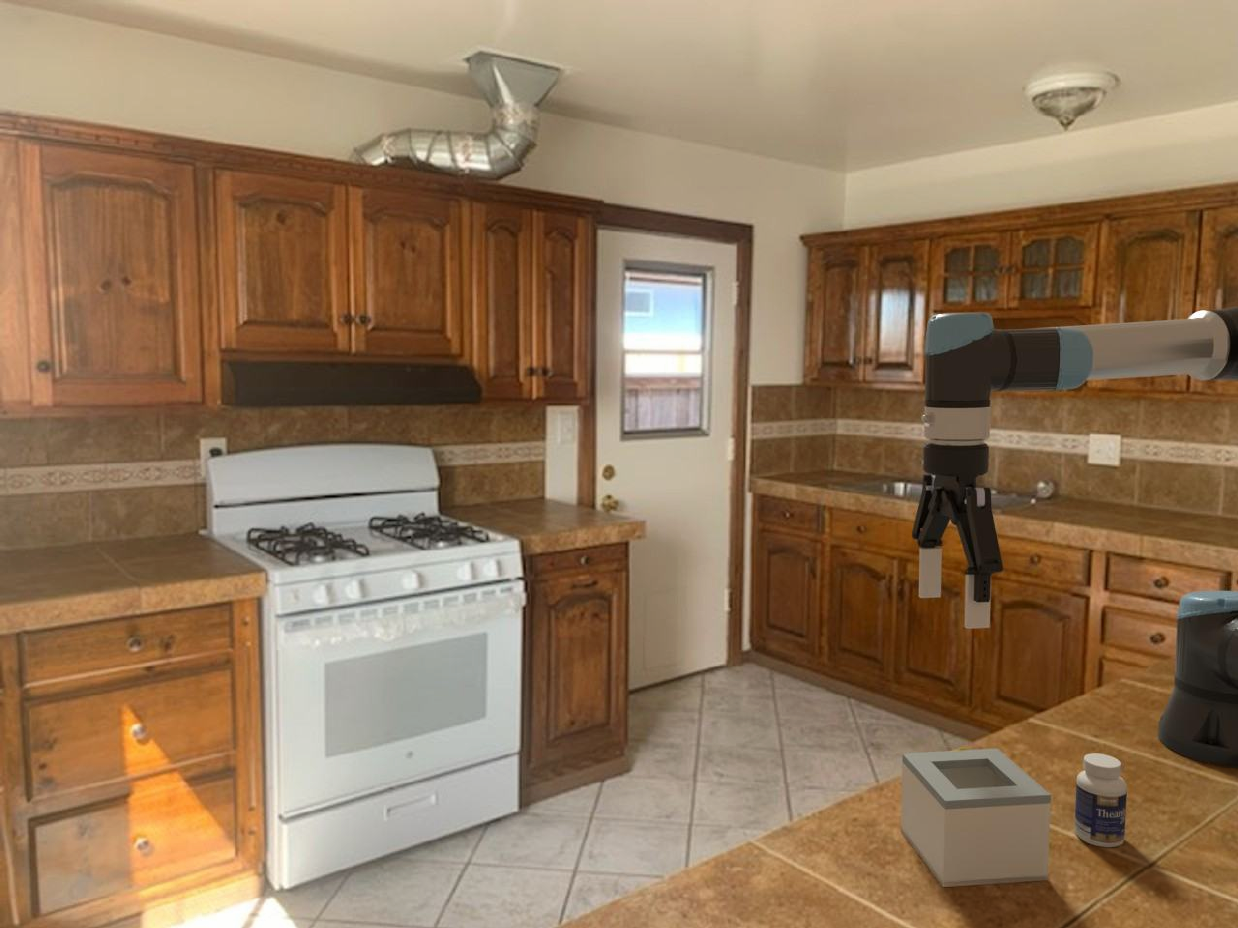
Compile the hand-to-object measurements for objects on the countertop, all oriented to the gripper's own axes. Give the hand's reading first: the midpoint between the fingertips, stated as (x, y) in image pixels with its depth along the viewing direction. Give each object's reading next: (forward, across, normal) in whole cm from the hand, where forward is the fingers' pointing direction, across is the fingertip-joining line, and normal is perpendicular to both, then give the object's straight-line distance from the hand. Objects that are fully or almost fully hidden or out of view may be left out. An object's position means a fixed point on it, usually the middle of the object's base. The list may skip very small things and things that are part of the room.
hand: (951, 611), depth 114 cm
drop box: (+26, +10, -2) cm, 28 cm away
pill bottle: (+27, +8, +16) cm, 32 cm away
